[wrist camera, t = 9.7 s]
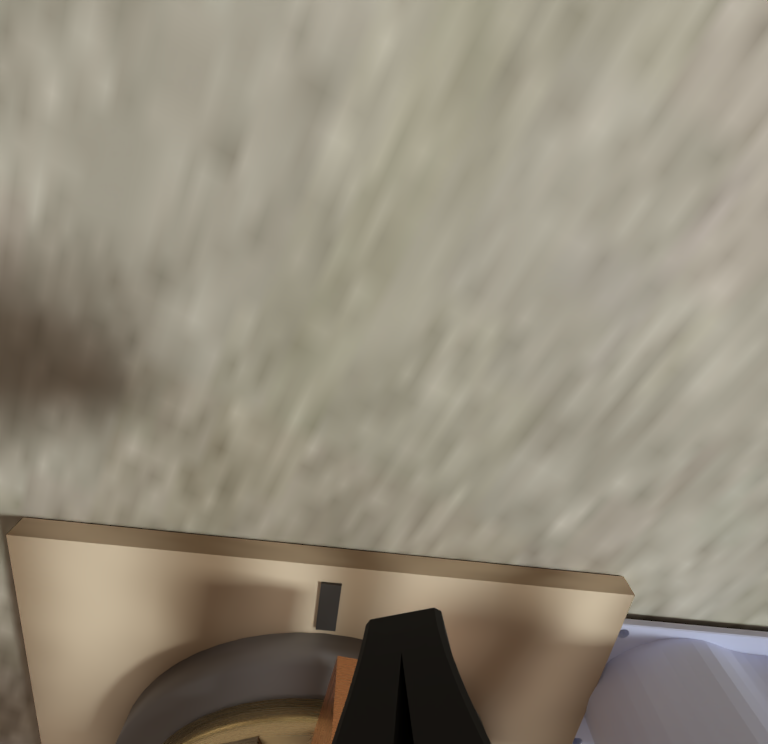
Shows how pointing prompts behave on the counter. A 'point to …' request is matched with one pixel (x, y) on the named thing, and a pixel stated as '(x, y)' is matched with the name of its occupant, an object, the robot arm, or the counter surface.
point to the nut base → (285, 628)
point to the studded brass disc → (275, 717)
